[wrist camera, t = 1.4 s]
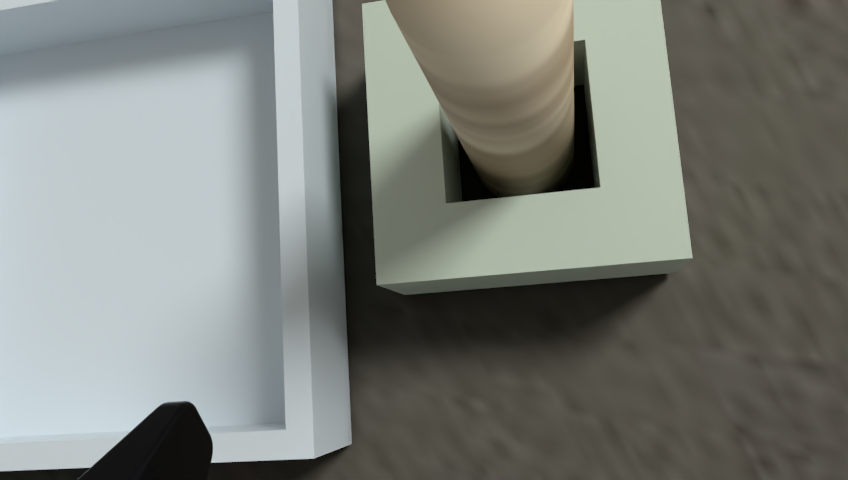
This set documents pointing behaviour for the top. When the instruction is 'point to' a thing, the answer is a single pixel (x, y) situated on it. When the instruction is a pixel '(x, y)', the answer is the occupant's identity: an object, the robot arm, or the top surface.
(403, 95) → the dowel block
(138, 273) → the tray
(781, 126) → the top surface
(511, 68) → the dowel
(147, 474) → the robot arm
